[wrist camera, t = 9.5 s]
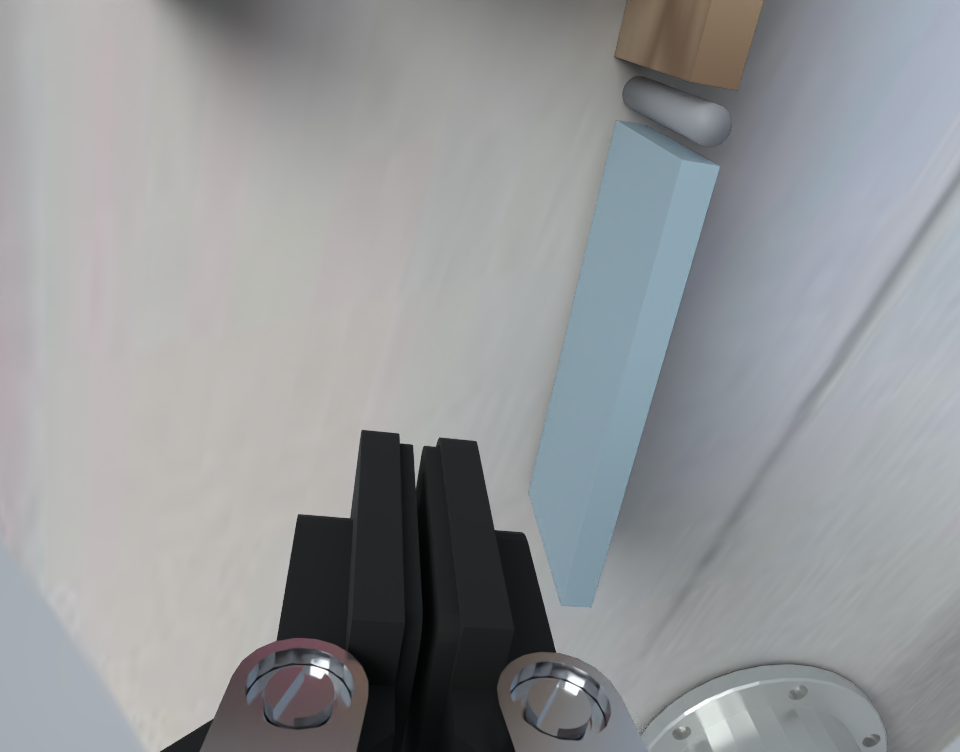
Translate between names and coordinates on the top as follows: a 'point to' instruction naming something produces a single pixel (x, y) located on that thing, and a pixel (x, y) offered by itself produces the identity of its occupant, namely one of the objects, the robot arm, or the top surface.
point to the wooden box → (690, 38)
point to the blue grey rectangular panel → (621, 326)
